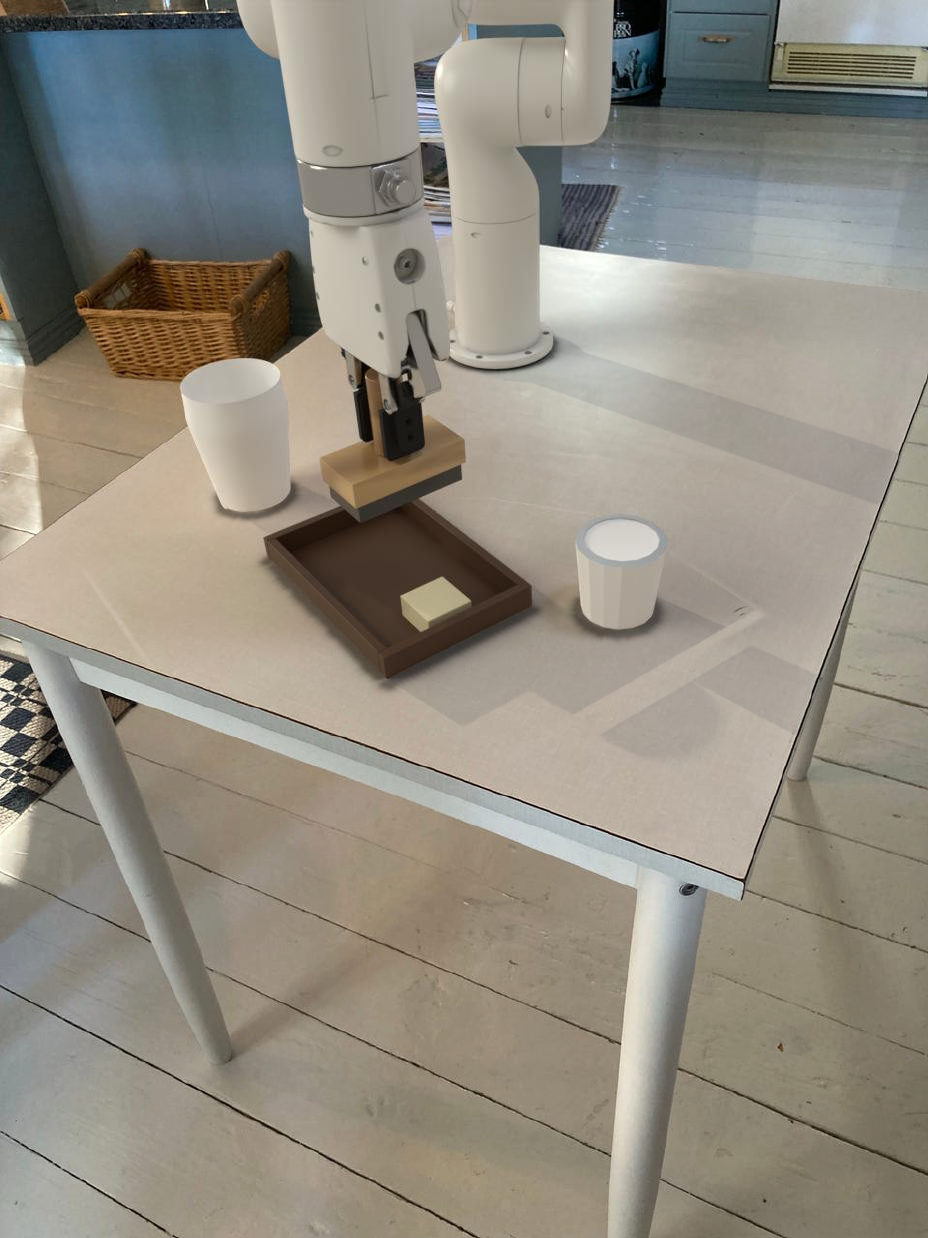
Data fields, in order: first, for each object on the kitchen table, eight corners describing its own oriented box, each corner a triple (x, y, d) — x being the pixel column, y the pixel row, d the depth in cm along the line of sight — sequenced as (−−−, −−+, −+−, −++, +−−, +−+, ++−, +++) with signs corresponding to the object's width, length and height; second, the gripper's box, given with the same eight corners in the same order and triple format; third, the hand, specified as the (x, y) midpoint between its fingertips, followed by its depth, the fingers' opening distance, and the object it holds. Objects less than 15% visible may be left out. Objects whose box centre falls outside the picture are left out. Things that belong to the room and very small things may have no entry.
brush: (325, 497, 75) (306, 382, 68) (432, 453, 78) (422, 340, 72) (358, 526, 71) (340, 408, 65) (467, 479, 75) (460, 363, 69)
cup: (305, 516, 91) (283, 397, 84) (206, 529, 90) (174, 410, 83) (301, 466, 98) (281, 351, 90) (209, 478, 97) (180, 363, 90)
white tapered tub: (676, 627, 76) (684, 554, 72) (593, 648, 75) (596, 574, 71) (639, 576, 82) (644, 505, 77) (560, 595, 80) (561, 523, 76)
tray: (268, 561, 86) (262, 537, 84) (400, 505, 92) (397, 481, 90) (387, 684, 73) (383, 658, 72) (532, 611, 79) (531, 585, 77)
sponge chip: (402, 615, 78) (399, 595, 77) (444, 595, 80) (442, 575, 79) (430, 641, 76) (428, 621, 75) (472, 620, 78) (471, 600, 76)
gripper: (490, 197, 57) (500, 472, 69) (348, 140, 67) (378, 388, 79) (378, 231, 54) (409, 512, 66) (247, 165, 64) (295, 419, 76)
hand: (392, 442), depth 72 cm, fingers closed on brush, 2 cm apart
